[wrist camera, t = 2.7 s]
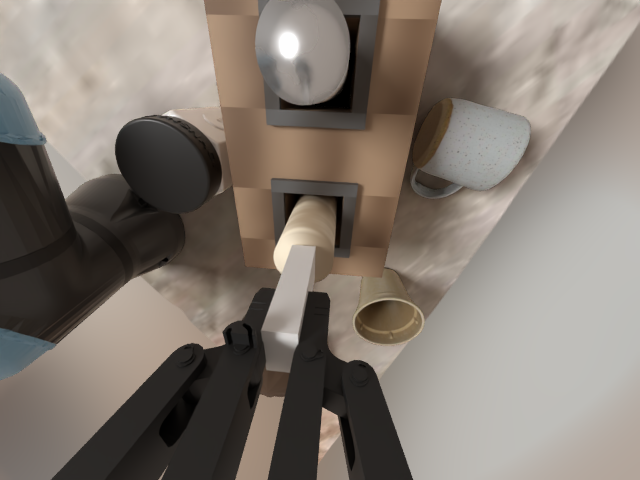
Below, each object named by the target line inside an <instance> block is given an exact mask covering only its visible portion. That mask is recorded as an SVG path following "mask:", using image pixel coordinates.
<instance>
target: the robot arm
mask: <svg viewBox="0 0 640 480" xmlns="http://www.w3.org/2000/svg"><path fill="white" fill-rule="evenodd" d="M46 142H47V141H46V138H45V136H44V135H43V134H42V133H41V132H40V131H39V129H38V127H37V125H36V122H35V120H34V118H33V116H32V113H31V111H30V109H29V107H28V104H27V102H26V100H25V98H24V95H23V94H22V92H21V91H20V89H19V88H18V87H17V86H16V85H15V84H14V83H13V82H12V81H11V80H10V79H9V78H7V77H6V76H5V75H3V74H2V73H0V380H2V379H5V378H8V377H10V376H13V375H15V374H17V373H19V372H20V371H22V370H23V369H24V368H26V367H27V366H28V365H29V364H30V363H32V362H33V361H34V360H36V359H37V358H38V357H40V356H41V355H42V354H44V353H45V352H46V351H47V350H51V349H53V348H54V347H55V346H56V344H57V343H59V342H60V341H61V340H62V339H63V338H64V337H65V336H67V335H68V334H69V333H70V332H71V331H72V330H73V329H74V328H76V327H77V326H78V325H79V324H80V323H81V322H83V320H85V319H86V318H87V317H88V316H89V315H91V314H92V313H93V312H94V311H95V310H96V309H97V308H99V306H101V305H102V304H103V303H104V302H105V301H106V300H108V299H109V298H110V297H111V296H112V295H113V294H115V293H116V292H117V291H118V290H119V289H120V288H121V287H122V286H124V285H125V284H126V283H127V282H128V281H130V280H131V279H133V278H135V277H138V276H140V275H143V274H145V273H148V272H150V271H152V270H155V269H157V268H160V267H162V266H164V265H166V264H167V263H169V262H170V261H171V260H172V259H173V258H174V257H175V256H177V255H178V254H179V252H180V251H181V250H182V248H183V245H184V241H185V232H184V227H183V224H182V221H181V219H180V217H179V215H178V214H176V213H170V212H166V211H162V210H160V209H158V208H155V207H153V206H152V205H150V204H148V203H147V202H145V201H144V200H143V199H142V198H140V197H139V196H138V195H137V194H136V193H135V192H134V191H133V190H132V189H131V188H130V186H129V185H128V184H127V182H126V181H125V179H124V178H123V176H122V175H120V174H110V175H105V176H101V177H98V178H95V179H92V180H89V181H87V182H85V183H84V184H82V185H81V186H80V187H79V188H78V189H77V190H75V191H74V192H73V193H72V194H71V195H70V196H68V197H67V198H66V199H64V196H63V193H62V191H61V188H60V186H59V183H58V180H57V178H56V175H55V172H54V170H53V167H52V164H51V162H50V159H49V157H48V154H47V151H46V149H45V146H44V144H45V143H46ZM315 252H316V246H303V245H292V247H291V249H290V252H289V255H288V258H287V260H286V263H285V266H284V269H283V271H282V274H281V277H280V280H279V282H278V285H277V288H276V289H271V288H261V289H260V290H259V291H258V292H257V293H256V294H255V296H254V298H253V300H252V303H251V305H250V307H249V310H248V311H247V314H246V316H245V318H244V320H243V321H236V322H234V323H231V324H230V325H228V326H227V327H226V328H225V329H224V331H223V336H224V340H225V343H226V344H225V345H222V346H219V347H214V348H209V349H204V350H203V347H202V346H200V345H199V344H194V343H191V344H187V345H184V346H182V347H180V348H178V349H177V350H176V351H174V352H173V353H172V354H171V355H170V356H169V357H168V358H167V359H166V361H164V362H163V364H162V365H161V366H160V367H159V368H158V369H157V370H156V371H155V372H154V373H153V374H152V375H151V376H150V377H149V378H148V379H147V380H146V381H145V382H144V383H143V384H142V385H141V386H140V387H139V389H138V390H137V391H136V392H135V393H134V394H133V395H132V396H131V397H130V398H129V399H128V400H127V401H126V402H125V403H124V404H123V405H122V406H121V407H120V408H119V409H118V410H117V412H116V413H115V414H114V415H113V416H112V417H111V418H110V419H109V420H108V421H107V422H106V423H105V424H104V425H103V426H102V427H101V428H100V429H99V430H98V432H97V433H95V434H94V436H93V437H92V438H91V439H90V440H89V441H88V442H87V443H86V444H85V445H84V446H83V447H82V448H81V449H80V450H79V451H78V452H77V453H76V454H75V455H74V457H72V458H71V459H70V461H69V462H68V463H67V464H66V465H65V466H64V467H63V468H62V469H61V470H60V471H59V472H58V473H57V474H56V475H55V476H54V477H53V478H52V480H158V479H159V478H160V476H161V475H162V473H163V472H164V470H165V469H166V467H167V466H168V467H167V469H166V471H165V473H164V475H163V477H162V479H161V480H235V478H236V474H237V471H238V468H239V464H240V461H241V457H242V454H243V450H244V446H245V443H246V440H247V436H248V433H249V429H250V426H251V422H252V419H253V416H254V412H255V408H256V405H257V402H258V398H259V395H260V391H261V388H262V384H263V371H264V368H265V364H266V370H270V371H279V372H288V373H290V374H289V378H288V383H287V388H286V393H285V399H284V403H283V408H282V413H281V418H280V422H279V427H278V432H277V437H276V442H275V446H274V451H273V456H272V461H271V466H270V471H269V476H268V480H316V479H317V466H318V453H319V440H320V427H321V415H322V407H323V408H325V409H327V410H329V411H331V412H333V413H334V414H336V415H338V420H339V425H340V431H341V436H342V442H343V447H344V453H345V458H346V464H347V468H348V474H349V480H413V478H412V475H411V472H410V469H409V467H408V464H407V461H406V458H405V455H404V452H403V449H402V447H401V444H400V441H399V438H398V435H397V432H396V429H395V426H394V424H393V421H392V418H391V415H390V412H389V410H388V406H387V404H386V401H385V398H384V395H383V392H382V389H381V387H380V384H379V381H378V378H377V375H376V373H375V371H374V369H373V368H372V367H371V366H370V365H369V364H368V363H366V362H364V361H361V360H353V361H350V362H348V363H347V362H345V361H342V360H340V359H338V358H337V357H335V356H334V355H333V354H332V353H331V352H330V350H329V348H328V345H327V336H328V323H329V310H330V299H329V297H328V294H327V293H322V292H313V287H314V281H315Z"/></svg>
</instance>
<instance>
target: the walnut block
mask: <svg viewBox="0 0 640 480" xmlns="http://www.w3.org/2000/svg"><path fill="white" fill-rule="evenodd" d="M334 1H335V2H336V3H337V5H338V6H339V8H340V10H341V11H342V13H343V16H344V18H345V20H346V23H347V27H348V31H349V38H350V51H354V54H353V66H352V78H351V89H350V101H349V107H337V106H314V105H296V104H292V103H290V102H287V101H285V100H284V99H282V98H280V97H279V96H278V95H277V94H275V93H274V92H273V90H272V89H271V88H270V87H269V86H268V84H267V83H266V81H265V79H264V78H263V76H262V73H261V71H260V68H259V65H258V62H257V57H256V50H255V37H256V29H257V25H258V21H259V18H260V16H261V13H262V11H263V9H264V7H265V6H266V4H267V3H268V2H269V0H204V4H205V10H206V16H207V23H208V29H209V36H210V42H211V49H212V55H213V61H214V68H215V74H216V81H217V87H218V94H219V100H220V106H221V113H222V119H223V126H224V132H225V139H226V145H227V151H228V158H229V164H230V171H231V177H232V184H233V190H234V196H235V203H236V209H237V216H238V222H239V229H240V235H241V241H242V248H243V254H244V261H245V267H257V268H269V269H277V268H276V266H275V263H274V250H275V248H276V246H277V243H278V241H279V239H280V237H281V235H282V233H283V230H284V228H285V226H286V224H287V222H288V220H289V217H290V215H291V213H292V211H293V209H294V207H295V204H296V202H297V200H298V198H299V196H300V194H312V195H327V196H341V199H338V201H337V216H336V230H335V245H334V259H333V267H332V270H331V272H330V273H329V274H340V275H352V276H364V277H376V278H382V275H383V270H384V265H385V261H386V256H387V252H388V247H389V242H390V238H391V233H392V228H393V224H394V219H395V214H396V210H397V205H398V200H399V196H400V191H401V187H402V182H403V177H404V173H405V168H406V163H407V159H408V154H409V149H410V145H411V140H412V135H413V131H414V126H415V122H416V117H417V112H418V108H419V103H420V98H421V94H422V89H423V84H424V80H425V75H426V70H427V66H428V61H429V57H430V52H431V47H432V43H433V38H434V33H435V29H436V24H437V19H438V15H439V10H440V5H441V1H442V0H334Z"/></svg>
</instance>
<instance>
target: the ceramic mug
mask: <svg viewBox="0 0 640 480" xmlns="http://www.w3.org/2000/svg"><path fill="white" fill-rule="evenodd" d="M530 135H531V126H530V123H529V121H528V120H527V119H526V118H525V117H524V116H521V115H517V114H513V113H509V112H506V111H503V110H499V109H496V108H492V107H488V106H484V105H481V104H477V103H474V102H471V101H468V100H464V99H455V98H446V99H443V100H441V101H440V102H438V103H437V104H436V105H435V106H434V107H433V108H432V109H431V111H430V112H429V114H428V115H427V117H426V119H425V120H424V122H423V124H422V126H421V128H420V131H419V133H418V135H417V138H416V141H415V144H414V148H413V153H412V160H413V163H414V166H413V168H412V172H411V178H410V182H411V186H412V189H413V190H414V192H416V193H417V194H418V195H420V196H422V197H425V198H429V199H439V198H443V197H446V196H449V195H451V194H453V193H455V192H456V191H458V190H459V189H460V188H462V187H463V186H464V187H467V188H469V189H472V190H476V191H484V190H488V189H490V188H492V187H494V186H496V185H497V184H498V183H500V182H501V181H502V180H503V179H505V178H506V177H507V176H508V175H509V174H510V172H511V171H512V170H513V169H514V168H515V167H516V165H517V164H518V162H519V161H520V159H521V158H522V156H523V154H524V152H525V150H526V148H527V145H528V143H529V140H530ZM419 169H420V170H422V171H423V172H425V173H428V174H431V175H433V176H437V177H440V178H443V179H446V180H448V181H451V182H453V183H452V184H451V185H449V186H447V187H445V188H442V189H438V190H435V189H433V190H432V189H429V188H427V187H425V186H423V185H421V184H420V183H416V181H415V176H416V174H417V172H418V170H419Z"/></svg>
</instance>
